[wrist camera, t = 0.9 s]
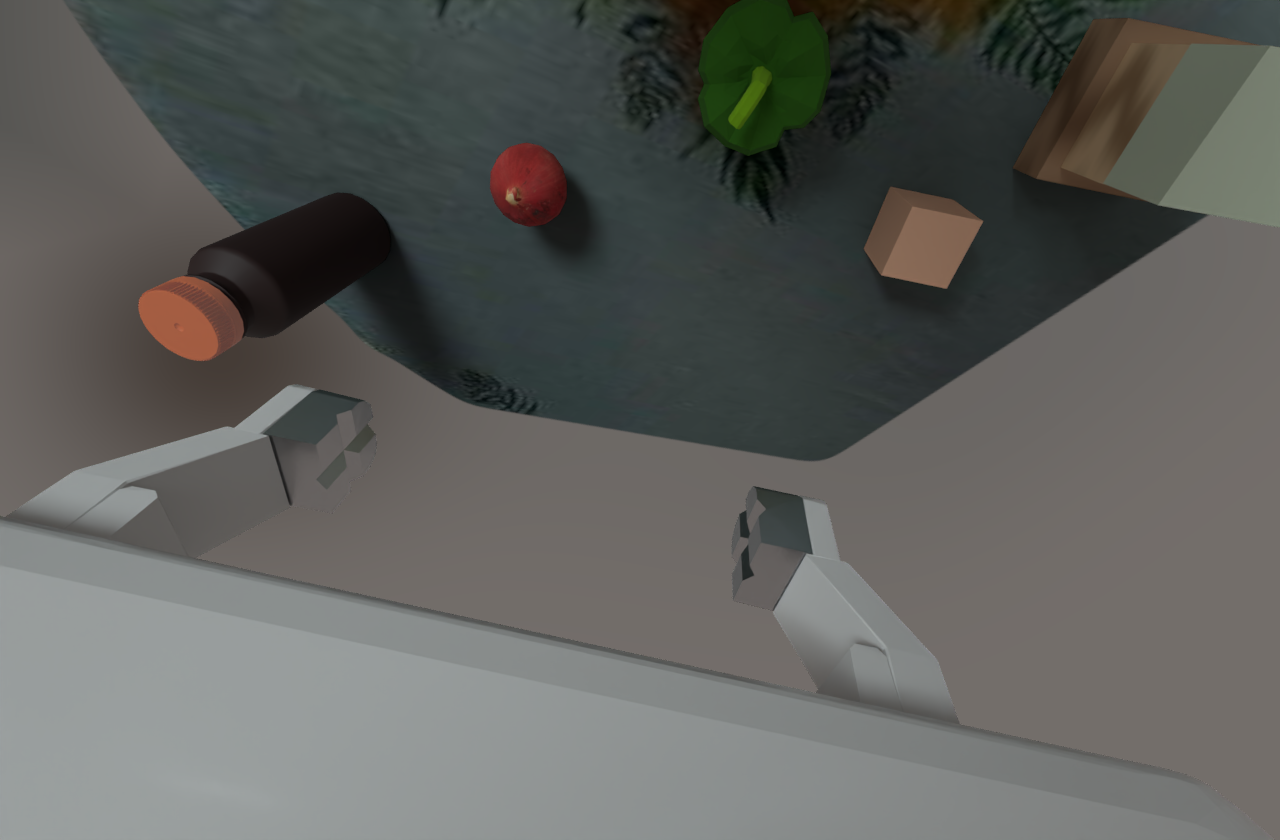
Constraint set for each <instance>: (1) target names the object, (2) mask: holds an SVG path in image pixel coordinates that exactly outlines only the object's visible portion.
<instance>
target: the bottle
mask: <svg viewBox="0 0 1280 840" xmlns="http://www.w3.org/2000/svg"><path fill="white" fill-rule="evenodd" d="M390 242H391V239H390V235H389V230H388V227H387V225H386V223H385V222H384V220H383V218H382V216H381V215H380V214H379V213H378V212H377V210H376V209H375V208H374V207H373V206H372V205H371V204H369V203H368V202H366V201H365V200H364V199H362V198H360V197H358V196H355V195H353V194H349V193H334V194H331V195H328V196H325V197H323V198H320V199H318V200H316V201H313V202H311V203H308V204H306V205H304V206H301V207H299V208H297V209H294V210H292V211H289V212H287V213H285V214H282V215H280V216H277V217H275V218H273V219H270V220H268V221H265V222H263V223H261V224H258V225H256V226H253V227H251V228H249V229H246V230H244V231H241V232H239V233H237V234H234V235H232V236H230V237H227V238H225V239H222V240H220V241H218V242H215V243H213V244H210V245H208V246H206V247H203V248H201V249H200V250H198V252H197V253H196V254H195V255H194V256H193V257H192V258H191V260H190V263H189V268H188V275H185V276H182V277H178V278H175V279H172V280H170V281H168V282H166V283H163V284H161V285H159V286H157V287H155V288H152V289H150V290H148V291H146V292H145V293H144V294H142V296H141V298H140V301H139V302H140V303H138V304H139V306H138V307H139V313H140V316H141V319H142V321H143V322H144V325H145V326H146V328H147V329H148V330H149V332H150V333H151V334H152V335H153V336H154V338H156V340H157V341H159V342H160V343H161V344H162V345H164V346H165V347H166V348H167V349H169V350H171V351H172V352H174V353H176V354H178V355H180V356H182V357H185V358H188V359H191V360H198V361H203V360H204V361H206V360H211V359H213V358H215V357H216V356H218V355H219V354H221V353H223V352H224V351H226V350H227V349H229V348H230V347H232V346H233V345H235V344H236V343H237V342H239V341H240V340H241V339H242V338H243V337H244V336H247V337H256V338H266V337H270V336H274V335H277V334H279V333H280V332H282V331H283V330H285V329H286V328H287V327H289V326H290V325H292V324H293V323H295V322H296V321H298V320H299V319H301V318H302V317H304V316H305V315H307V314H308V313H309V312H311V311H312V310H314V309H315V308H317V307H318V306H320V305H321V304H323V303H324V302H326V301H327V300H329V299H330V298H331V297H333V296H334V295H336V294H337V293H339V292H340V291H342V290H343V289H345V288H346V287H347V286H349V285H350V284H352V283H353V282H355V281H356V280H358V279H359V278H361V277H362V276H364V275H365V274H366V273H368V272H369V271H371V270H372V269H374V268H375V267H377V266H378V265H379V264H381V263H382V262H383V261H384V260H385V259H386V257H387V255H388V253H389V251H390Z"/></svg>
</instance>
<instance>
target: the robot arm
mask: <svg viewBox="0 0 1280 840" xmlns="http://www.w3.org/2000/svg"><path fill="white" fill-rule="evenodd" d="M372 418H373V414H372V409H371V405H370V404H369V403H368V402H366V401H364V400H360V399H356V398H352V397H348V396H344V395H339V394H336V393H332V392H328V391H323V390H317V389H313V388H309V387H305V386H301V385H297V384H295V385H290V386H287V387H286V388H285V389H283V390H282V391H281V392H280V393H278V394H277V395H276V396H274V397H273V398H272V399H271V400H269V401H268V402H267V403H266V404H264V405H263V406H262V407H261V408H259V409H258V410H257V411H255V412H254V413H253V414H252V415H250V416H249V417H248V418H247V419H245V420H244V421H243V422H241V423H240V424H239V425H238V426H236V427H235V428H230V427H224V428H220V429H216V430H213V431H210V432H206V433H203V434H200V435H196V436H193V437H189V438H186V439H182V440H179V441H175V442H172V443H169V444H165V445H162V446H159V447H155V448H152V449H148V450H145V451H141V452H138V453H135V454H131V455H128V456H124V457H121V458H117V459H114V460H110V461H107V462H104V463H100V464H97V465H93V466H90V467H86V468H83V469H80V470H76V471H74V472H72V473H71V474H69V475H68V476H66V477H65V478H63V479H62V480H60V481H59V482H57V483H56V484H54V485H53V486H51V487H50V488H48V489H47V490H45V491H43V492H42V493H40V494H39V495H38V496H36V497H34V498H33V499H32V500H30V501H28V502H27V503H25V504H24V505H22V506H21V507H20V508H18V509H17V510H15V511H13V512H12V513H10V514H9V515H7V516H6V517H3V516H0V840H1275V839H1274V838H1272V837H1271V836H1270V835H1269V834H1268V833H1267V832H1266V831H1264V830H1263V829H1262V828H1261V827H1260V826H1259V825H1257V824H1256V823H1255V822H1254V821H1253V820H1252V819H1251V818H1250V817H1248V816H1247V815H1246V814H1245V813H1244V812H1243V811H1242V810H1240V809H1239V808H1238V807H1237V806H1235V805H1234V804H1233V803H1231V802H1230V801H1229V800H1228V799H1226V798H1225V797H1223V795H1221V794H1220V793H1219V792H1217V791H1216V790H1215V789H1214V788H1212V787H1211V786H1210V785H1208V784H1206V783H1204V782H1203V781H1201V780H1199V779H1196V778H1194V777H1191V776H1189V775H1187V774H1184V773H1180V772H1176V771H1172V770H1169V769H1165V768H1161V767H1156V766H1151V765H1147V764H1142V763H1138V762H1133V761H1128V760H1123V759H1118V758H1113V757H1109V756H1104V755H1100V754H1095V753H1091V752H1085V751H1081V750H1077V749H1072V748H1067V747H1062V746H1058V745H1053V744H1048V743H1044V742H1039V741H1035V740H1030V739H1025V738H1021V737H1016V736H1011V735H1006V734H1002V733H998V732H993V731H988V730H984V729H979V728H974V727H970V726H965V725H961V724H960V723H959V720H958V718H957V715H956V712H955V709H954V706H953V704H952V700H951V698H950V695H949V692H948V689H947V686H946V684H945V681H944V678H943V675H942V672H941V670H940V667H939V664H938V661H937V659H936V658H935V657H934V656H933V655H932V654H931V653H930V652H929V650H928V649H926V647H925V646H924V645H923V644H922V643H921V642H920V641H919V640H918V639H917V637H916V636H915V635H914V634H913V633H912V632H911V631H910V630H909V629H908V628H907V627H906V626H905V625H904V624H903V622H902V621H901V620H900V619H899V618H898V617H897V616H896V615H895V614H894V613H893V611H892V610H891V609H890V608H889V607H888V606H887V605H886V604H885V603H884V602H883V601H882V599H881V598H880V597H879V596H878V595H877V594H876V593H875V592H874V591H873V590H872V589H871V588H870V587H869V586H868V584H867V583H866V582H865V581H864V580H863V579H862V578H861V577H860V576H859V575H858V573H857V572H856V571H855V570H854V569H853V568H852V567H851V566H850V565H849V564H848V563H847V562H842V561H841V560H840V556H839V553H838V548H837V544H836V540H835V536H834V532H833V528H832V524H831V520H830V516H829V511H828V507H827V504H826V503H825V501H824V500H820V499H814V498H809V497H804V496H797V495H792V494H788V493H782V492H778V491H773V490H769V489H764V488H760V487H755V486H753V487H752V488H751V490H750V491H749V493H748V496H747V498H746V511H744V512H742V513H741V514H739V517H738V520H737V522H736V525H735V529H734V533H733V538H732V558H733V559H734V561H735V562H736V563H737V564H736V567H735V569H734V571H733V573H732V584H733V601H736V602H739V603H743V604H747V605H751V606H756V607H759V608H763V609H768V610H772V611H773V614H774V616H775V617H776V619H777V621H778V622H779V624H780V626H781V627H782V629H783V631H784V633H785V634H786V636H787V638H788V639H789V641H790V643H791V644H792V646H793V647H794V649H795V651H796V653H797V654H798V656H799V658H800V660H801V661H802V663H803V665H804V666H805V668H806V670H807V671H808V673H809V675H810V676H811V678H812V680H813V681H814V683H815V685H816V686H817V688H818V690H817V692H816V693H813V692H809V691H804V690H800V689H795V688H790V687H786V686H781V685H777V684H772V683H767V682H763V681H758V680H754V679H749V678H744V677H740V676H735V675H731V674H726V673H722V672H717V671H712V670H708V669H703V668H698V667H694V666H690V665H685V664H680V663H676V662H671V661H667V660H662V659H657V658H652V657H648V656H643V655H639V654H634V653H629V652H625V651H620V650H615V649H611V648H606V647H602V646H597V645H593V644H588V643H583V642H578V641H574V640H569V639H565V638H560V637H556V636H551V635H546V634H541V633H536V632H532V631H528V630H523V629H519V628H514V627H509V626H505V625H500V624H495V623H491V622H487V621H482V620H477V619H473V618H468V617H464V616H459V615H454V614H450V613H445V612H441V611H436V610H431V609H427V608H422V607H417V606H413V605H408V604H403V603H399V602H395V601H390V600H385V599H380V598H376V597H371V596H367V595H362V594H358V593H353V592H349V591H343V590H339V589H335V588H330V587H325V586H321V585H316V584H311V583H307V582H302V581H297V580H293V579H289V578H284V577H279V576H275V575H270V574H265V573H261V572H256V571H251V570H247V569H243V568H238V567H233V566H228V565H224V564H219V563H215V562H210V561H206V560H201V559H196V557H198V556H200V555H202V554H204V553H206V552H208V551H210V550H211V549H213V548H215V547H217V546H219V545H221V544H222V543H224V542H226V541H228V540H230V539H232V538H234V537H236V536H237V535H240V534H241V533H243V532H245V531H247V530H249V529H251V528H253V527H255V526H257V525H259V524H260V523H262V522H264V521H266V520H268V519H270V518H272V517H273V516H275V515H277V514H279V513H281V512H283V511H285V510H287V509H289V508H290V506H296V507H301V508H306V509H311V510H316V511H322V512H327V513H333V512H334V511H335V510H336V508H337V507H338V506H339V505H340V504H341V502H342V501H343V500H344V499H345V497H346V496H347V495H348V494H349V493H350V491H351V487H350V481H353V480H355V479H358V478H360V477H362V476H364V474H365V473H366V472H367V470H368V469H369V468H370V467H371V464H372V462H373V459H374V457H375V454H376V446H377V441H376V434H375V433H374V432H373V431H372V429H371V428H370V427H369V426H368V423H369V421H370V420H371V419H372Z"/></svg>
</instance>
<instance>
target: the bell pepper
mask: <svg viewBox="0 0 1280 840" xmlns="http://www.w3.org/2000/svg"><path fill="white" fill-rule="evenodd" d="M698 71H699V73H700V76H701V78H702V80H703V82H704V86H703V88H702V90H701V93H700V95H699V97H698V101H699V105H700V110H701V114H702V119H703V123H704V127H705V128H706V129H707V130H708V131H709V132H710V133H712V134H713V135H714V136H715V137H716V138H717V139H718V140H719V141H720V142H721V143H722V144H723V145H724V146H725V147H728V148H730V149H733V150H735V151H738V152H740V153H743V154H745V155H748V156H749V155H752V154H755V153H758V152H762V151H765V150H768V149H771V148H774V147H776V146H777V144H778V142H779V140H780V138H781V136H782V134H783V132H784V130H788V129H797V128H804V127H805V126H806V125H807V124H808V123H809V122H810V121H811V120H812V119H813V118H814V117H815V116H816V115H817V114H818V113H819V112H820V111H821V107H822V104H823V100H824V97H825V93H826V90H827V86H828V83H829V80H830V76H831V66H830V55H829V43H828V35H827V34H826V32H825V31H824V29H823V27H822V26H821V24H820V22H819V21H818V19H817V17H816V16H815V14H814V13H813V12H809V13H806V14H802V15H799V16H795V17H794V15H793V13H792V10H791V8H790V6H789V4H788V1H787V0H741V1H739V2H737V3H735V4H733V5H732V6H730V7H728V8H727V9H726V11H725V12H724V13H723V14H722V16H721V17H720V18H719V20H718V21H717V22H716V24H715V25H714V26H713V28H712V29H711V30H710V32H709V33H708V34H707V36H706V37H705V38H704V40H703V46H702V51H701V57H700V63H699V69H698Z"/></svg>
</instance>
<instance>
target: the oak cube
mask: <svg viewBox="0 0 1280 840" xmlns="http://www.w3.org/2000/svg"><path fill="white" fill-rule="evenodd" d="M1189 46H1190V45H1186V44H1150V43H1132V44H1131V45H1130V47H1129V49H1128V51H1127V52H1126V54H1125V56H1124V58H1123V59H1122V61H1121V63H1120V65H1119V66H1118V68H1117V70H1116V72H1115V73H1114V75H1113V77H1112V79H1111V80H1110V82H1109V84H1108V85H1107V87H1106V89H1105V91H1104V92H1103V94H1102V96H1101V98H1100V99H1099V101H1098V103H1097V105H1096V106H1095V108H1094V110H1093V112H1092V113H1091V115H1090V117H1089V119H1088V120H1087V122H1086V124H1085V126H1084V127H1083V129H1082V131H1081V133H1080V134H1079V136H1078V138H1077V139H1076V141H1075V143H1074V145H1073V146H1072V148H1071V150H1070V152H1069V153H1068V155H1067V157H1066V159H1065V160H1064V162H1063V164H1062V166H1061V168H1063V169H1066V170H1068V171H1071V172H1073V173H1076V174H1078V175H1081V176H1083V177H1086V178H1088V179H1091V180H1093V181H1096V182H1099V183H1101V184H1103V183H1104V181H1105V179H1106V178H1107V176H1108V175H1109V173H1110V171H1111V170H1112V168H1113V167H1114V165H1115V164H1116V162H1117V160H1118V159H1119V157H1120V156H1121V154H1122V152H1123V151H1124V149H1125V148H1126V146H1127V145H1128V143H1129V141H1130V140H1131V138H1132V137H1133V135H1134V133H1135V132H1136V130H1137V129H1138V127H1139V126H1140V124H1141V122H1142V121H1143V119H1144V118H1145V116H1146V114H1147V113H1148V111H1149V110H1150V108H1151V107H1152V105H1153V103H1154V102H1155V100H1156V99H1157V97H1158V95H1159V94H1160V92H1161V91H1162V89H1163V88H1164V86H1165V84H1166V83H1167V81H1168V80H1169V78H1170V76H1171V75H1172V73H1173V72H1174V70H1175V69H1176V67H1177V65H1178V64H1179V62H1180V61H1181V59H1182V57H1183V56H1184V54H1185V53H1186V51H1187V50H1188V48H1189ZM1104 185H1106V184H1104Z"/></svg>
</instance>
